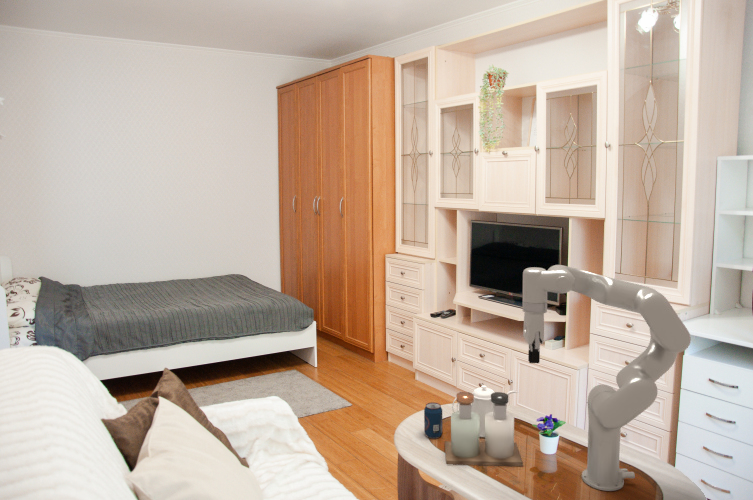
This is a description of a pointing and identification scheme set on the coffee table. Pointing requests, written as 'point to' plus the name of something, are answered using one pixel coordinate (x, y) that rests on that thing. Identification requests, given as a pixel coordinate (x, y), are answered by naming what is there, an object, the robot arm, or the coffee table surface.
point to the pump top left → (499, 398)
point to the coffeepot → (482, 405)
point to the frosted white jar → (499, 433)
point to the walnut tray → (482, 457)
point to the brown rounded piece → (465, 397)
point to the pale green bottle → (465, 432)
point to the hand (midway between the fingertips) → (533, 362)
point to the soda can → (433, 420)
